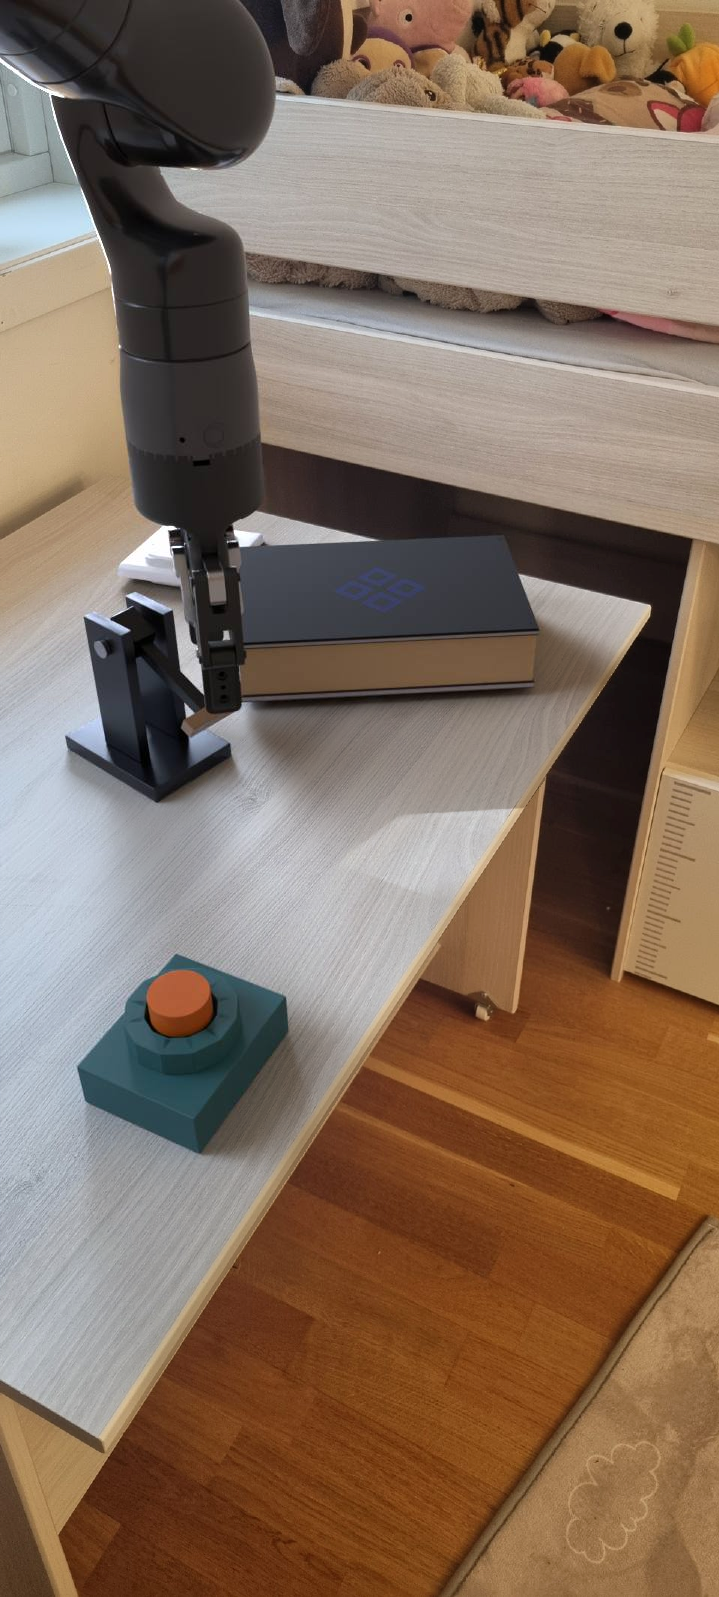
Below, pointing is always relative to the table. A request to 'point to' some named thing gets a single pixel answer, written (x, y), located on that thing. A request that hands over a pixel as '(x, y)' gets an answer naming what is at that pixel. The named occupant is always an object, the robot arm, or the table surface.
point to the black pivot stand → (141, 710)
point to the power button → (180, 1003)
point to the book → (384, 619)
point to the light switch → (167, 557)
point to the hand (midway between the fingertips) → (215, 674)
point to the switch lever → (167, 671)
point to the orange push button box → (185, 1059)
